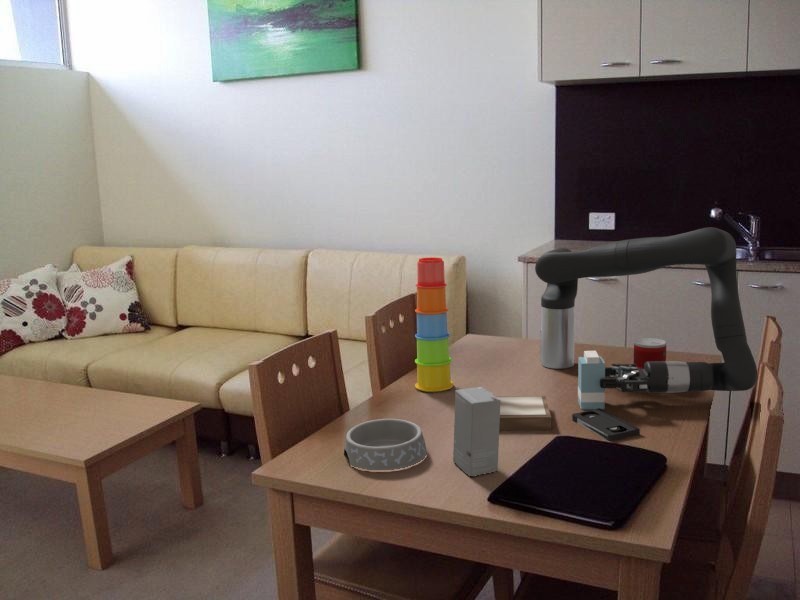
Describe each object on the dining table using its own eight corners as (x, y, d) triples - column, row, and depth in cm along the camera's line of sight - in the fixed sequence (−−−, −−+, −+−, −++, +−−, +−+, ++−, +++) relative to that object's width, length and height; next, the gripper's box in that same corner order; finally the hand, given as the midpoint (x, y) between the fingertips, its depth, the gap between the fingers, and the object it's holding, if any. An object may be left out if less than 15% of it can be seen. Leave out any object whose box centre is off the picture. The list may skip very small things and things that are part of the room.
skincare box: (452, 462, 157) (450, 389, 154) (483, 456, 160) (481, 384, 156) (470, 479, 150) (468, 402, 146) (502, 472, 152) (501, 396, 149)
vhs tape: (571, 422, 177) (571, 413, 177) (599, 416, 180) (599, 408, 180) (609, 443, 164) (609, 435, 164) (639, 437, 167) (639, 428, 167)
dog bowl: (355, 480, 152) (354, 454, 151) (337, 445, 170) (335, 422, 168) (436, 466, 157) (436, 441, 156) (410, 434, 174) (409, 411, 173)
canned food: (669, 386, 197) (670, 345, 194) (637, 387, 197) (638, 346, 195) (659, 376, 204) (661, 337, 202) (629, 377, 205) (630, 338, 202)
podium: (487, 408, 187) (487, 395, 186) (545, 407, 186) (545, 394, 185) (488, 430, 173) (488, 416, 173) (551, 429, 172) (551, 416, 171)
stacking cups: (407, 387, 205) (401, 260, 197) (434, 378, 211) (430, 254, 204) (433, 396, 197) (429, 264, 190) (461, 386, 204) (457, 258, 196)
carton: (577, 401, 189) (578, 350, 186) (600, 401, 188) (601, 350, 186) (580, 409, 184) (581, 357, 181) (604, 409, 183) (605, 357, 180)
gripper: (659, 353, 189) (592, 354, 190) (674, 371, 175) (602, 371, 177) (658, 382, 191) (592, 382, 192) (673, 402, 177) (601, 402, 178)
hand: (597, 377), depth 184 cm, fingers open, 8 cm apart
